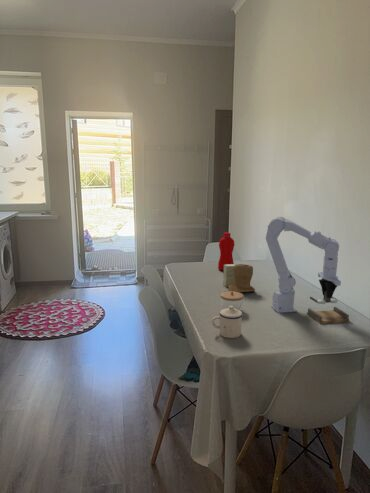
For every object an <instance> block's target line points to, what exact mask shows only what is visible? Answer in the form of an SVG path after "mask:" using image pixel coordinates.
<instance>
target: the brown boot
mask: <svg viewBox="0 0 370 493" xmlns="http://www.w3.org/2000/svg"><path fill="white" fill-rule="evenodd" d="M234 265H235V266H234V277H235V283H234V284H233V285H229V287H228V291H234V292H239V293H249V292H250V293H251V292H252V293H253V292H255V291H256V288H255V287H254V286H251V280H252V278H253V276H254V267H253V266H252V265H251V264H244V263H236V264H234Z"/></svg>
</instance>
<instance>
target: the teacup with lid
mask: <svg viewBox="0 0 370 493" xmlns="http://www.w3.org/2000/svg"><path fill="white" fill-rule="evenodd" d="M242 318H243V312H242V311H241V309H239V310H237V309H235V308H234V307H233V306H229V308H227V309H223V308H222V309H221V310H220V312H219V315H216V316H213V317H212V319H211V323H212V326H213V327H214V328H215V329H218V330H219V334H220V335H221V337H224V338H226V339H236V338H239V337H241V335H242V321H243V319H242ZM217 319H219V325H216V323H215V320H217Z"/></svg>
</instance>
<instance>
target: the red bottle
mask: <svg viewBox="0 0 370 493" xmlns="http://www.w3.org/2000/svg"><path fill="white" fill-rule="evenodd" d="M218 248H219V252H220V254H219V255H220V256H219V260H218V264H217V269H218V270H219V271H221V270H223V271H222V272H224V265H226V264H234V263H235V262H234V258H233V252H234V248H235V241H234V238H232V237H231V232H223V237H221V238H220V239H219V243H218ZM234 265H235V264H234Z"/></svg>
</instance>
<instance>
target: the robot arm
mask: <svg viewBox="0 0 370 493" xmlns="http://www.w3.org/2000/svg"><path fill="white" fill-rule="evenodd" d="M290 231H291V232H294V233H295V234H297V235H299V236H302V237H303V238H305V239H307V240H308V243H309V244H311V245H313V246H315V247H316V248H319V250H324V256H323V266H322V272H318V273H317V277H318V278H321V279H319V280H318V282H319V284H320V287H321V291H322V296H324V291H327V298H332V297H333V295H334V293H335V290H336V289H337V287H338V286H341V283H342V281H341V280H339V277H338V276H337V273H338V272H337V270H338V256H339V253H338V252H339V251H340V250H339V249H340V244H339V241H337V240H336V239H333V238H331V237H330V236H329V237H328V236H326V235H324V234H322V232H320V231H316V230H315V231H312V232H311V231H310V230H308V229H307V228H304V227H303V226H301V225H299V224H297V223H296V222H294V221H293V220H291V219H287V218H285V217H283V216H277V217H276V218H274V219H272V220H271V221H270V222H269V224H268V225H267V229H266V234H265V240H266V241H265V242H266V244H267V247H268V249H269V250H268V251H269V252H270V256H271V258H272V261H273V264H274V266H275V269H276V272H277V280H278V291H275V292H273V294H272V306H271V308H272V309H274V310H275V311H276V312H277V313H279V314H283V313H294V312H298V310H297V309H296V308H294V306H295V293H296V291H295V289H294V287H295V286H296V284H297V282H296V278H295V277H294V276H293V275H292V273H291V271H290V270H289V268H288V266H287V263H286V260H285V256H284V254H283V250H282V247H281V245H280V243H279V240H278V239H279V236H280V234H281V233H282V232H290Z"/></svg>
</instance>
